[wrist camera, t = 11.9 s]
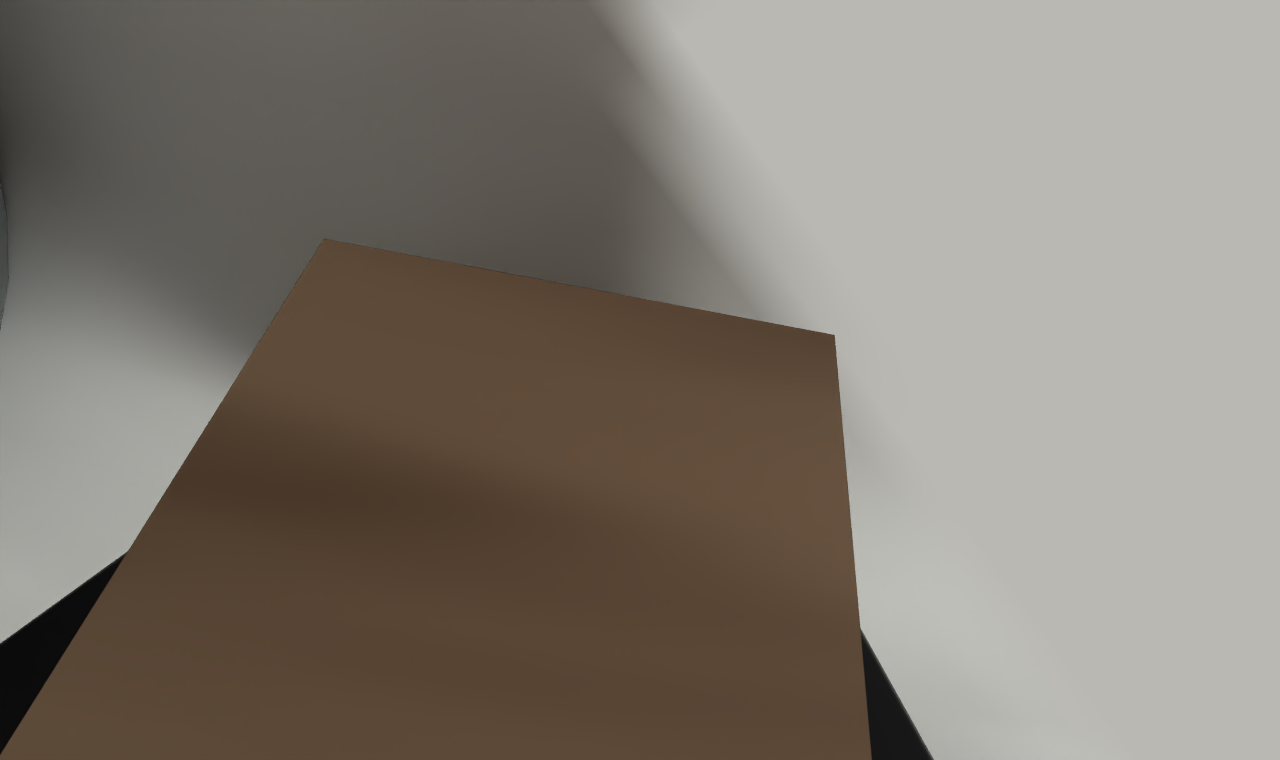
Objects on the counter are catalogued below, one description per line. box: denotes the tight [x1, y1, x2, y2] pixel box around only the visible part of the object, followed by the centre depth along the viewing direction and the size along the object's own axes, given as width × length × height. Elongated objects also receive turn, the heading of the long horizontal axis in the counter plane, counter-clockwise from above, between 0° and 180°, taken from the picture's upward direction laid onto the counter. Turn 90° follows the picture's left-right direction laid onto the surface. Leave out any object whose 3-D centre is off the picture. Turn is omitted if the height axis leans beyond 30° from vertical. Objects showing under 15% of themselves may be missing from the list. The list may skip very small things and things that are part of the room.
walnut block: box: [0, 239, 872, 760], centre depth 8 cm, size 4×4×5 cm
